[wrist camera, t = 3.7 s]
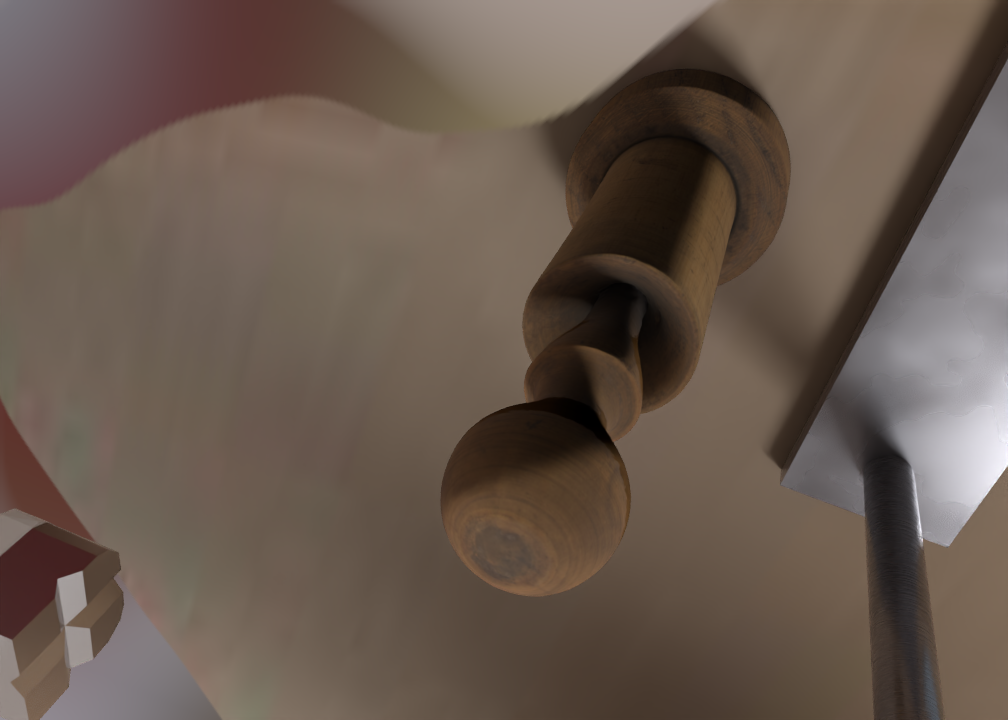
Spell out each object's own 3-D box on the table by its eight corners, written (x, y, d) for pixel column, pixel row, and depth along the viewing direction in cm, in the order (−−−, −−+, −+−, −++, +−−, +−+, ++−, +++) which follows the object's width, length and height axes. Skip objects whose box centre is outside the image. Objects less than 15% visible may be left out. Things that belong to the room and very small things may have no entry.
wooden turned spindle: (663, 302, 30) (498, 748, 15) (541, 158, 29) (234, 490, 14) (834, 190, 26) (836, 635, 11) (703, 18, 25) (518, 271, 10)
